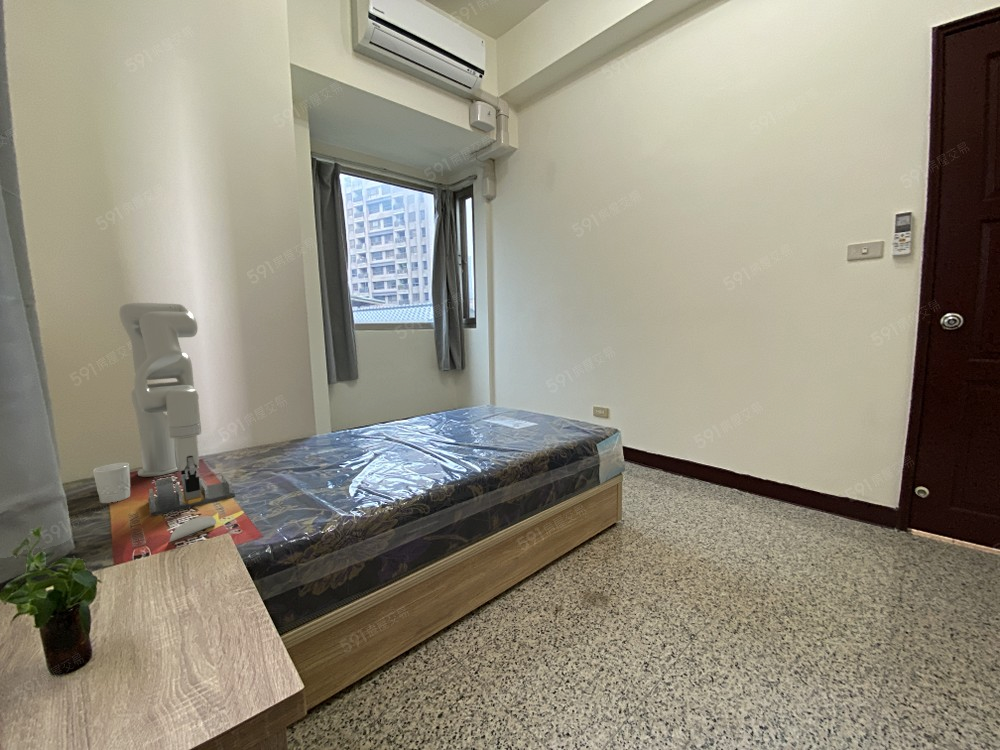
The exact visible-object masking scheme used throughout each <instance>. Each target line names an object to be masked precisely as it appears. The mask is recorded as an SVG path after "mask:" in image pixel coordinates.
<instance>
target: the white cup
mask: <svg viewBox="0 0 1000 750" xmlns="http://www.w3.org/2000/svg"><path fill="white" fill-rule="evenodd" d="M92 471H93V476H94V483H95V485H96V490H97V491H96V492H97V494H98V499H99V502H100V503H101V504H112V503H111V502H113V503H117V501H118V502H121V501H123V500H126V499H128V498H130V496H131V474H130V473H131V471H130V463H129V462H114V463H109V464H105V465H101V466H98V467H95V468H94V469H92Z"/></svg>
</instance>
